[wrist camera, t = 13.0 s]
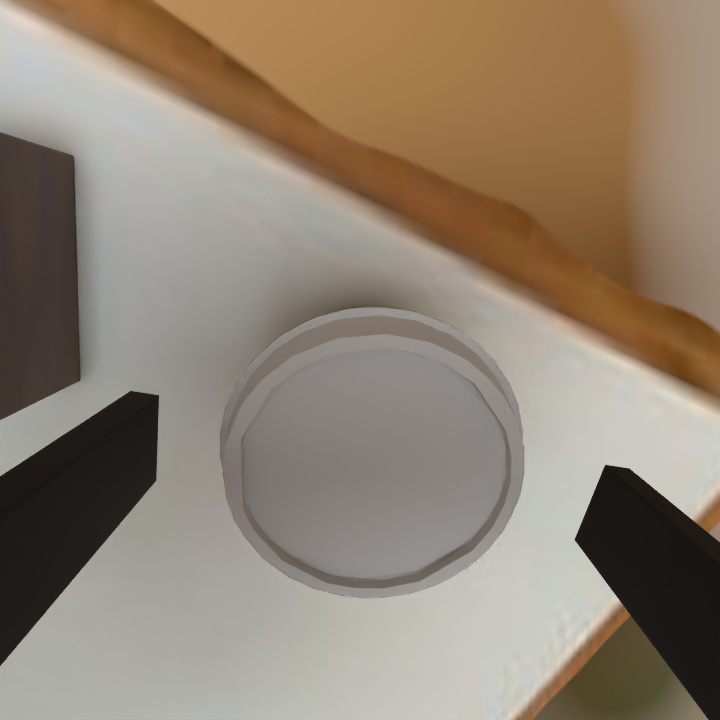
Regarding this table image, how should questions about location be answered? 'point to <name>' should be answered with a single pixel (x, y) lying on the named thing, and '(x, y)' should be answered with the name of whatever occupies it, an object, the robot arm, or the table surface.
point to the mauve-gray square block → (36, 274)
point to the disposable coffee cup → (372, 452)
